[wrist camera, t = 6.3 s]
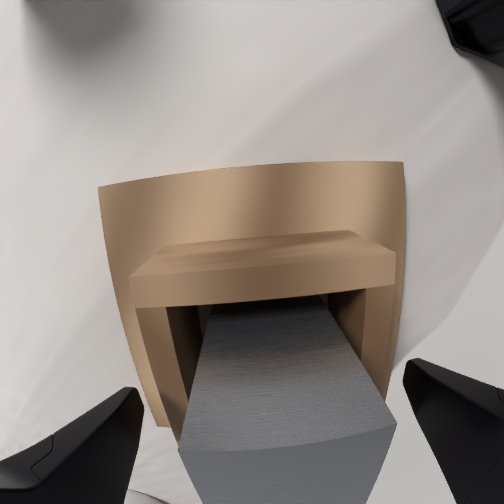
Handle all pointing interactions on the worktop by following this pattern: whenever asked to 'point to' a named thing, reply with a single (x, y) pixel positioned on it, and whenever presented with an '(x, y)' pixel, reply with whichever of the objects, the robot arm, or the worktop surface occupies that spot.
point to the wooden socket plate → (253, 260)
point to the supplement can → (139, 498)
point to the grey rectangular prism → (282, 409)
